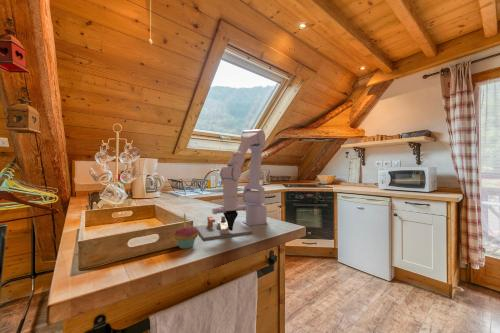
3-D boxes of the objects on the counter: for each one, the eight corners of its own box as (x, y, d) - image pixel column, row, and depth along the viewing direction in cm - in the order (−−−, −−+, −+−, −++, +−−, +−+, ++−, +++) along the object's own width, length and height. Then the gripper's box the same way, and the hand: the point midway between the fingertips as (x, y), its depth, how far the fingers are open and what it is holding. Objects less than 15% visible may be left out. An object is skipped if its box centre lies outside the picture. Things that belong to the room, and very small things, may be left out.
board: (238, 223, 108) (238, 221, 108) (252, 233, 94) (252, 231, 94) (195, 228, 100) (195, 226, 100) (203, 240, 85) (203, 237, 85)
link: (217, 224, 102) (217, 220, 102) (228, 224, 103) (228, 219, 103) (218, 234, 89) (218, 229, 89) (231, 233, 90) (231, 228, 90)
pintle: (224, 225, 101) (224, 216, 101) (225, 226, 100) (225, 217, 99) (220, 226, 100) (220, 216, 100) (221, 227, 99) (222, 217, 99)
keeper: (211, 227, 102) (211, 216, 102) (215, 230, 97) (215, 218, 97) (207, 227, 101) (207, 216, 101) (210, 231, 96) (210, 219, 96)
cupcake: (196, 250, 76) (196, 214, 75) (169, 251, 75) (169, 214, 75) (200, 241, 84) (200, 208, 84) (176, 241, 84) (176, 209, 83)
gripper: (241, 193, 98) (241, 224, 99) (209, 196, 91) (209, 230, 91) (249, 195, 92) (249, 229, 93) (216, 198, 85) (216, 235, 85)
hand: (230, 229), depth 92 cm, fingers closed, pressing on link
